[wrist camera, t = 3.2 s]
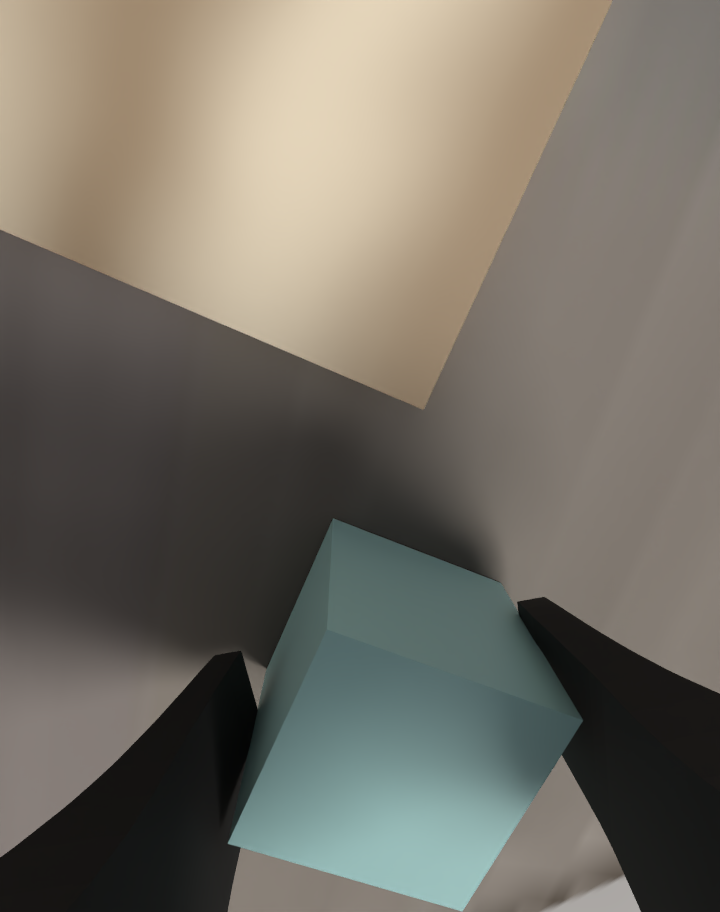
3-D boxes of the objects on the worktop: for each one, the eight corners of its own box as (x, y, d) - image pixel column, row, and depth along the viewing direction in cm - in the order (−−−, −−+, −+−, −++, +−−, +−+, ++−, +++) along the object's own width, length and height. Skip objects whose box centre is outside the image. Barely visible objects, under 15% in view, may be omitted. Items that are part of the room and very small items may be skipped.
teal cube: (500, 583, 13) (582, 719, 8) (424, 723, 14) (462, 911, 9) (333, 517, 12) (327, 629, 8) (266, 669, 13) (227, 843, 9)
